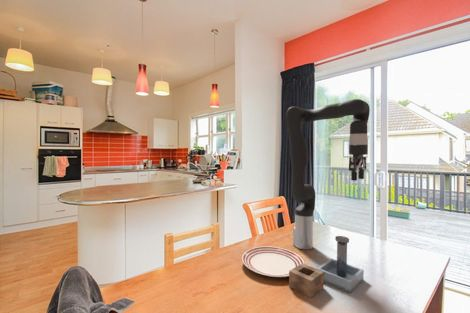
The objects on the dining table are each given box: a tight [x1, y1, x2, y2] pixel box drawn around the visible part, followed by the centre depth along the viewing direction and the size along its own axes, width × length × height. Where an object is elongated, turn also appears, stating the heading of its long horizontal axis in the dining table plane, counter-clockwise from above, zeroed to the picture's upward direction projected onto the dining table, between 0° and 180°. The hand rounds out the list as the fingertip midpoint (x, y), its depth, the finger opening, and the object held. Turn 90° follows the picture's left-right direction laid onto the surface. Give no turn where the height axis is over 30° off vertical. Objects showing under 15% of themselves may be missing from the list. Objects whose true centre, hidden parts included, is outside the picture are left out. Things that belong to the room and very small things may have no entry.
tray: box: [316, 258, 364, 294], centre depth 92 cm, size 13×13×4 cm
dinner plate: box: [241, 245, 306, 278], centre depth 103 cm, size 27×27×3 cm
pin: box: [334, 235, 350, 278], centre depth 93 cm, size 5×5×15 cm
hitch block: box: [288, 263, 325, 299], centre depth 86 cm, size 9×9×6 cm
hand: (357, 179), depth 106 cm, fingers open, 8 cm apart
